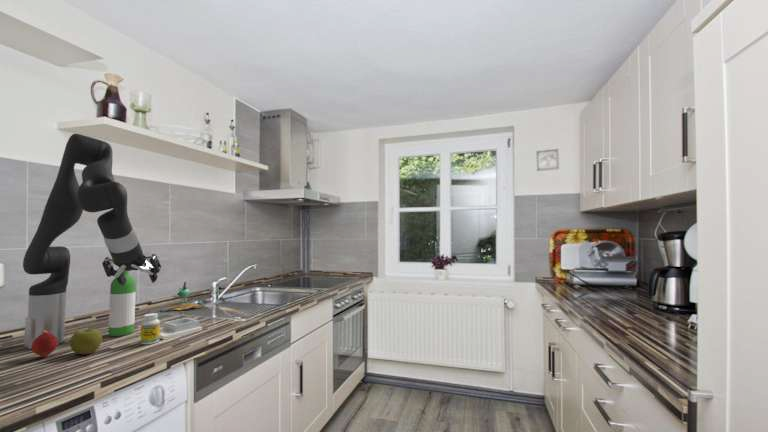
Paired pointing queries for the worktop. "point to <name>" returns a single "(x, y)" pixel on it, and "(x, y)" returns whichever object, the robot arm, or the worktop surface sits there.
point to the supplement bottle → (150, 329)
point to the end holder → (179, 328)
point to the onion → (44, 344)
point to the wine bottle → (122, 306)
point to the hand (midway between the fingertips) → (139, 281)
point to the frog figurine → (184, 294)
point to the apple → (86, 341)
